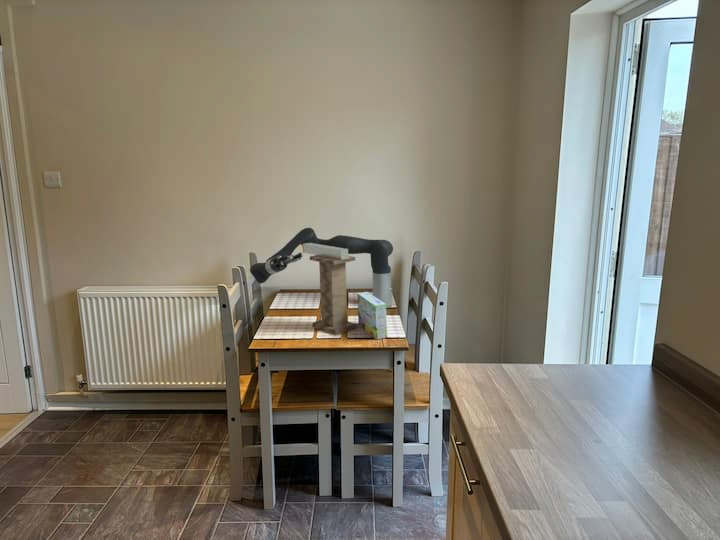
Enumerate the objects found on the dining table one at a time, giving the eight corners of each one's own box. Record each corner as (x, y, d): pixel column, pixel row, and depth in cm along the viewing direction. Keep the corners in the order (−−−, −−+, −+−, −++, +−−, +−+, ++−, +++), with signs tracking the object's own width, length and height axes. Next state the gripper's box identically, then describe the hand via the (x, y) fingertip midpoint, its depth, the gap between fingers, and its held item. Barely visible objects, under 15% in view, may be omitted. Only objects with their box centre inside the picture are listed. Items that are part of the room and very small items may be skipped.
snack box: (357, 325, 217) (356, 292, 213) (368, 323, 219) (368, 291, 215) (375, 340, 197) (374, 305, 194) (387, 338, 199) (387, 303, 196)
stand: (312, 326, 215) (309, 256, 208) (332, 320, 223) (330, 252, 216) (336, 335, 204) (333, 261, 197) (356, 328, 212) (355, 256, 205)
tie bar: (302, 252, 218) (302, 243, 217) (309, 251, 221) (309, 242, 220) (341, 259, 200) (340, 250, 199) (348, 258, 202) (348, 249, 202)
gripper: (261, 259, 232) (279, 249, 220) (285, 255, 242) (304, 246, 230) (266, 274, 231) (284, 265, 220) (289, 269, 241) (308, 261, 230)
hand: (294, 255), depth 225 cm, fingers open, 8 cm apart
